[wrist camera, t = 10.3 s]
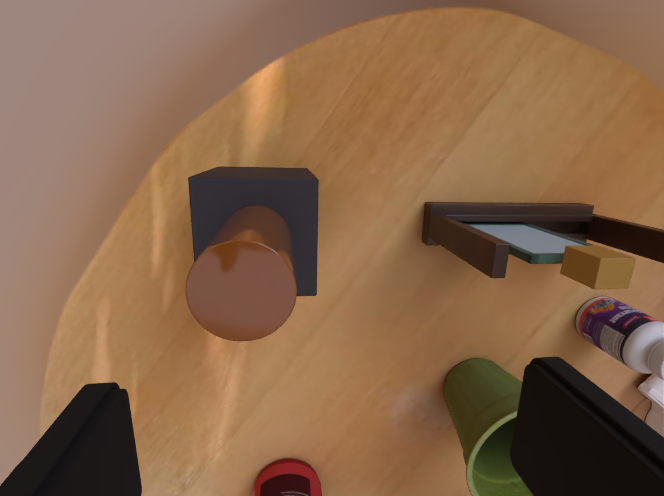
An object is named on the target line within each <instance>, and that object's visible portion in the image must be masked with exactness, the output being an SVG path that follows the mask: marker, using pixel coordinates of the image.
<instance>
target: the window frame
mask: <svg viewBox="0 0 664 496" xmlns="http://www.w3.org/2000/svg"><path fill="white" fill-rule="evenodd" d="M593 208H594V206H593V205H588V204H583V203H470V202H425V212H424V223H423V233H422V242H423V243H425V244H426V245H441V246H442V247H444V248H445V249H447V250H448V251H450V252H452V253H453V254H455V255H456V256H458V257H459V258H461V259H462V260H464V261H466V262H467V263H469V264H470V265H472V266H473V267H475V268H476V269H478V270H480V271H481V272H483V273H484V274H486V275H487V276H489V277H490V278H505V273H506V267H507V261H508V254H509V248H510V244H509V243H507V242H505V241H502V240H500V239H498V238H495V237H493V236H491V235H489V234H486V233H484V232H482V231H480V230H477V229H475V228H473V227H470V226H468V225H466V224H464V223H528V224H531V225H534V226H537V227H540V228H543V229H546V230H549V231H552V232H556V233H559V234H562V235H565V236H568V237H571V238H574V239H577V240H580V241H583V242H586V241H587V240H591V241H594V242H598V243H601V244H604V245H607V246H610V247H614V248H617V249H620V250H623V251H626V252H630V253H633V254H636V255H639V256H642V257H645V258H649V259H652V260H655V261H658V262H661V263H664V230H663V229H658V228H654V227H649V226H645V225H640V224H636V223H631V222H627V221H623V220H618V219H614V218H609V217H605V216H600V215H596V214H592V212H593Z"/></svg>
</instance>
